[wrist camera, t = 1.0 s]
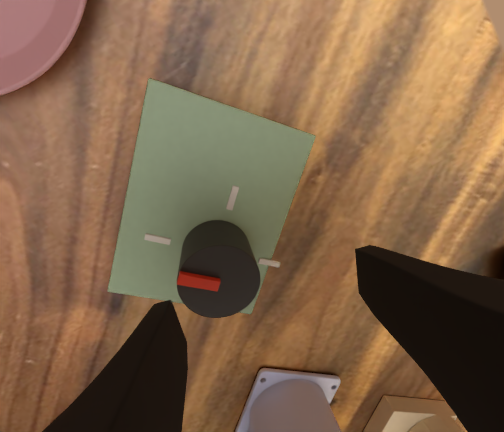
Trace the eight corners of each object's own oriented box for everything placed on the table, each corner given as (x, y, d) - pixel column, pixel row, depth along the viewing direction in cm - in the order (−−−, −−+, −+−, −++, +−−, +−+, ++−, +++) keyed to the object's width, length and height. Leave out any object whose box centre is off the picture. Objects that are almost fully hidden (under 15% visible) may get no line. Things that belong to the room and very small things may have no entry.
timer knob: (258, 228, 17) (273, 258, 13) (238, 285, 18) (247, 327, 14) (191, 212, 16) (187, 239, 12) (174, 274, 17) (167, 315, 13)
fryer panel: (252, 291, 22) (259, 318, 19) (120, 268, 19) (105, 295, 16) (307, 136, 18) (327, 139, 15) (157, 84, 16) (147, 76, 13)
